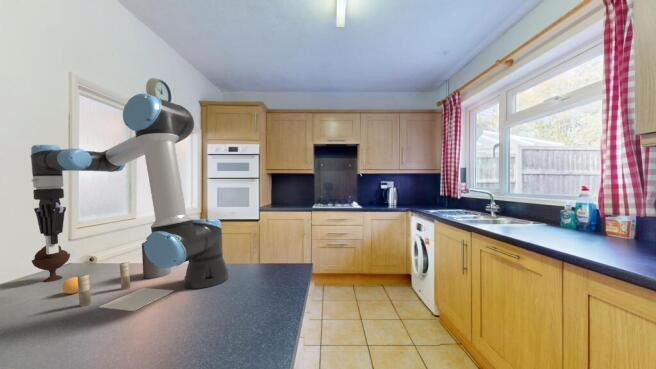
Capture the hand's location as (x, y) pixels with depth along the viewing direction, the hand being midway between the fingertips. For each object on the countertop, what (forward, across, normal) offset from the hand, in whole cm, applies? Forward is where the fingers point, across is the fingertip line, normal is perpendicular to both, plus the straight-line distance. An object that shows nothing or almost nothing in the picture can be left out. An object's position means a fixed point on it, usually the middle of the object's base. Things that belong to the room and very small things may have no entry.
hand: (52, 253), depth 95 cm
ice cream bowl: (+14, -18, +9) cm, 25 cm away
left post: (+14, +26, -6) cm, 30 cm away
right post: (+14, +26, +6) cm, 30 cm away
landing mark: (+14, +40, 0) cm, 42 cm away
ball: (+11, +10, 0) cm, 15 cm away
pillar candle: (+14, +25, +20) cm, 35 cm away
